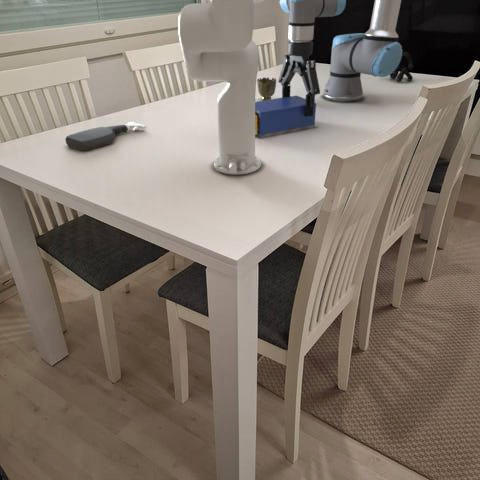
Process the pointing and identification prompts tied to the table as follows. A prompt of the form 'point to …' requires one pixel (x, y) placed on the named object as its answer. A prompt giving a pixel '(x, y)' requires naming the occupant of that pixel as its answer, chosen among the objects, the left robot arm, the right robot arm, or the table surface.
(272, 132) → the blue box
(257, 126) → the drawer
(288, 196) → the table surface
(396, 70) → the squiggle
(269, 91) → the cup
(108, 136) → the spray bottle
